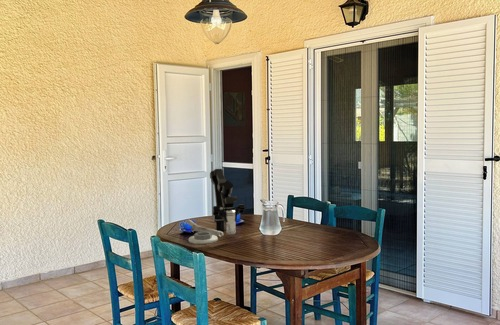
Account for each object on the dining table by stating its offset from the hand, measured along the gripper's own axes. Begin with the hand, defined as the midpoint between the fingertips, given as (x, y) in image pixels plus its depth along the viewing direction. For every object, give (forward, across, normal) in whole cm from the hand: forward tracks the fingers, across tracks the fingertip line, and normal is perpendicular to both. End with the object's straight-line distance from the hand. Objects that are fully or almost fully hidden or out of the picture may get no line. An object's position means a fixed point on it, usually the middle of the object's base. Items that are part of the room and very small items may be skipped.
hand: (231, 221), depth 262 cm
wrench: (-11, -12, +29) cm, 33 cm away
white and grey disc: (0, -15, +18) cm, 23 cm away
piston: (+4, 0, +6) cm, 7 cm away
